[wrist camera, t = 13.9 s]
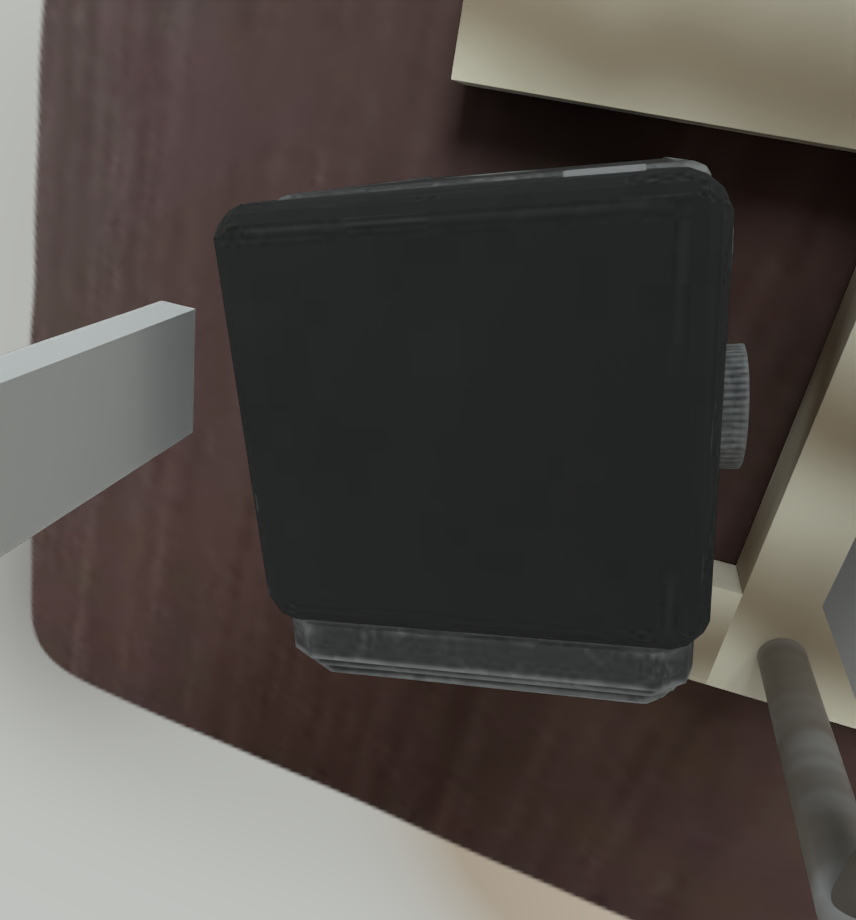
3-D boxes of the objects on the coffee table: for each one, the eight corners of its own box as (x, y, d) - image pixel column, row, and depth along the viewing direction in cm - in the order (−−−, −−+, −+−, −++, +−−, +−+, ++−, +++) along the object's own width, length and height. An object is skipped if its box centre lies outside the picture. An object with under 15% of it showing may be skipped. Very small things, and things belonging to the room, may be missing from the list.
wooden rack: (490, -65, 22) (322, -310, 10) (1262, 41, 19) (2296, -145, 7) (386, 559, 31) (235, 802, 19) (891, 706, 28) (1072, 1104, 16)
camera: (424, 466, 29) (240, 734, 16) (398, 179, 25) (126, 208, 12) (706, 472, 26) (777, 804, 13) (725, 151, 22) (853, 147, 9)
